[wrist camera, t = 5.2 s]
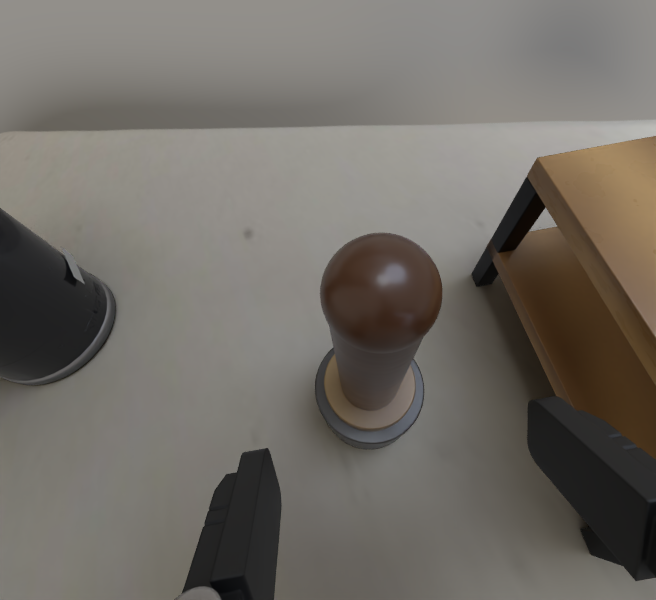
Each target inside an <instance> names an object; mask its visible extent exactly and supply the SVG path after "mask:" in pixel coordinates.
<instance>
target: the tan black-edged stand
mask: <svg viewBox="0 0 656 600" xmlns="http://www.w3.org/2000/svg"><path fill="white" fill-rule="evenodd" d="M545 207H546V208H547V210H548V212H549V213H550V215H551V216H552V218H553V220H554V221H555V223H556V225H557V226H558V227H552V228H547V229H542V230H536V231H531V232H528V231H529V230H530V229H531V227H532V226H533V224H534V223H535V222H536V220H537V219H538V217H539V216H540V214H541V213H542V212H543V210H544V209H545ZM498 274H499V275H500V278H501V280H502V282H503V284H504V286H505V288H506V290H507V292H508V295H509V297H510V299H511V301H512V303H513V305H514V307H515V309H516V312H517V314H518V316H519V318H520V320H521V322H522V324H523V326H524V329H525V331H526V333H527V335H528V337H529V339H530V341H531V343H532V345H533V348H534V350H535V352H536V354H537V356H538V358H539V360H540V362H541V365H542V367H543V369H544V371H545V373H546V375H547V377H548V379H549V382H550V384H551V386H552V388H553V390H554V392H555V394H556V396H558V397H560V398H562V399H563V400H564V401H566V402H567V403H568V404H569V405H571V406H572V407H573V408H574V409H576V410H577V411H579V410H583V411H585V412H587V413H590V414H592V415H594V416H596V417H598V418H601V419H603V420H604V421H606V422H607V423H608V424H610V425H611V426H612V427H614V428H615V429H616V430H618V431H619V432H620V433H621V435H622V436H625V437H627V438H628V439H629V440H631V441H632V442H633V443H635V444H636V446H637V447H638V448H641V449H643V450H644V451H645V452H646V453H648V454H649V455H650V456H652V457H653V458H654V459H656V136H653V137H647V138H642V139H636V140H631V141H626V142H620V143H615V144H609V145H604V146H598V147H593V148H587V149H582V150H576V151H571V152H565V153H560V154H555V155H549V156H544V157H538V158H537V159H536V161H535V162H534V164H533V166H532V168H531V169H530V171H529V173H528V175H527V177H526V179H525V180H524V182H523V184H522V186H521V188H520V189H519V191H518V193H517V195H516V196H515V198H514V200H513V202H512V203H511V205H510V207H509V209H508V210H507V212H506V214H505V216H504V217H503V219H502V221H501V223H500V224H499V226H498V228H497V230H496V231H495V233H494V235H493V237H492V239H491V240H490V242H489V243H488V245H487V247H486V249H485V251H484V253H483V254H482V256H481V258H480V260H479V261H478V263H477V265H476V267H475V268H474V270H473V272H472V277H473V279H474V281H475V284H476V286H482V285H488V284H492V282H493V281H494V280H495V278H496V277H497V275H498ZM581 532H582V535H583V537H584V539H585V542H586V544H587V546H588V549H589V551H590V553H591V555H593V556H596V557H599V558H602V559H604V560H607V561H610V562H613V563H616V564H618V565H621V566H623V565H622V564H621V563H620V562H619V561H618V559H617V558H616V557H615V556H614V555H613V553H612V552H611V551H610V550H609V549H608V548H607V546H606V545H605V544H604V543H603V542H602V541H601V539H600V538H599V537H598V536H597V535H596V533H595V532H594V531H593V530H592V529H591V528H590V527H588V528H582V529H581ZM655 578H656V577H655Z"/></svg>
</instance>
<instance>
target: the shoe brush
mask: <svg viewBox="0 0 656 600" xmlns="http://www.w3.org/2000/svg"><path fill="white" fill-rule="evenodd" d="M320 298H321V306H322V310H323V313H324V315H325V318H326V320H327V322H328V324H329V327H330V332H331V337H332V342H333V348H332V349H331V350H330V351H329V352H328V354H327V355H326V356H325V357H324V359H323V361H322V362H321V364H320V366H319V369H318V372H317V375H316V381H315V394H316V400H317V404H318V406H319V409H320V411H321V413H322V415H323V417H324V419H325V420H326V422H327V423H328V425H329V426H330V428H331V429H332V431H333V432H334V433H335V434H336V435H337V436H338V437H339V438H340V439H341V440H342V441H344V442H345V443H347V444H349V445H351V446H354V447H357V448H361V449H378V448H382V447H385V446H387V445H389V444H391V443H393V442H394V441H396V440H397V439H398V438H399V437H400V436H402V435H403V434H404V433H405V432H406V431H407V430H408V429H409V428H410V427H411V426H412V425H413V424H414V422H415V421H416V419H417V418H418V416H419V413H420V411H421V408H422V405H423V400H424V383H423V378H422V375H421V372H420V369H419V367H418V365H417V363H416V362H415V360H414V359H413V358H414V356H415V353H416V351H417V349H418V347H419V345H420V343H421V341H422V339H423V337H424V336H425V335H426V334H427V333H428V331H429V330H430V329H431V327H432V326H433V324H434V323H435V321H436V319H437V317H438V314H439V311H440V308H441V303H442V283H441V278H440V275H439V272H438V269H437V267H436V265H435V264H434V262H433V260H432V259H431V257H430V256H429V255H428V254H427V252H426V251H425V250H424V249H422V248H421V247H420V246H419V245H417V244H416V243H415V242H413V241H411V240H409V239H407V238H405V237H403V236H399V235H396V234H391V233H372V234H367V235H363V236H361V237H358V238H356V239H354V240H352V241H350V242H348V243H347V244H345V245H344V246H343V247H342V248H340V249H339V250H338V251H337V252H336V254H335V255H334V256H333V257H332V258H331V260H330V261H329V263H328V265H327V267H326V269H325V271H324V274H323V277H322V282H321V287H320Z"/></svg>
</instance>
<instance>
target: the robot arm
mask: <svg viewBox="0 0 656 600" xmlns="http://www.w3.org/2000/svg"><path fill="white" fill-rule="evenodd" d="M61 248H62V247H61ZM62 250H63V252H64V255H63V254H62V253H61V252H59V251H58V250H57V249H55V248H54V247H53V246H51V245H50V244H48V243H47V242H46V241H44V240H43V239H42V238H40V237H39V236H38V235H36V234H35V233H33V232H32V231H31V230H29V229H28V228H27V227H25V226H24V225H23V224H21V223H20V222H19V221H17V220H16V219H14V218H13V217H12V216H10V215H9V214H8V213H6V212H5V211H4V210H2V209H1V208H0V377H2V378H4V379H6V380H9V381H12V382H16V383H20V384H25V385H41V384H46V383H50V382H54V381H57V380H59V379H61V378H64V377H66V376H68V375H69V374H71V373H73V372H74V371H76V370H77V369H79V368H80V367H82V366H83V365H84V364H85V363H86V362H88V361H89V360H90V359H91V358H92V357H93V356H94V355H95V354H96V352H97V351H98V350H99V349H100V348H101V346H102V345H103V343H104V342H105V340H106V338H107V337H108V335H109V333H110V331H111V328H112V325H113V322H114V318H115V300H114V297H113V294H112V292H111V291H110V289H109V288H108V287H107V285H105V284H104V283H103V282H102V281H100V280H99V279H98V278H96V277H95V276H93V275H91V274H89V273H87V272H86V271H85V270H83V269H82V268H81V267H79V266H78V265H77V264H76V262H75V260H74V258H73V256H72V254H70V253H69V252H68V251H66V250H65V249H64V248H62ZM527 442H528V448H529V451H530V453H531V456H532V458H533V459H534V461H535V463H536V464H537V465H538V466H539V467H540V469H541V470H542V471H543V472H544V473H545V475H546V476H547V477H548V478H549V479H550V480H551V482H552V483H553V484H554V485H555V486H556V488H557V489H558V490H559V491H560V492H561V493H562V495H563V496H564V497H565V498H566V499H567V500H568V502H569V503H570V504H571V505H572V506H573V508H574V509H575V510H576V511H577V512H578V513H579V515H580V516H581V517H582V518H583V519H584V521H585V522H586V523H587V524H588V525H589V526H590V528H591V529H592V530H593V531H594V532H595V533H596V535H597V536H598V537H599V538H600V539H601V541H602V542H603V543H604V544H605V545H606V546H607V548H608V549H609V550H610V551H611V552H612V553H613V555H614V556H615V557H616V558H617V559H618V561H619V562H620V563H621V564H622V565H623V566H624V568H625V569H626V570H627V571H628V572H629V574H630V575H631V576H632V577H633V578H634V579H635V581H639V580H644V579H649V578H655V577H656V459H654V458H653V457H652V456H650V455H649V454H648V453H646V452H645V451H644V450H643V449H641V448H638V447H637V446H636V444H635V443H633V442H632V441H631V440H629V439H628V438H627V437H625V436H622V435H621V433H620V432H619V431H618V430H616V429H615V428H614V427H612V426H611V425H610V424H608V423H607V422H606V421H604V420H603V419H601V418H598V417H596V416H594V415H592V414H590V413H587V412H585V411H583V410H579V411H577V410H576V409H574V408H573V407H572V406H571V405H569V404H568V403H567V402H566V401H564V400H563V399H562V398H560V397H558V396H553V397H547V398H542V399H536V400H531V401H530V402H529V403H528V430H527ZM280 520H281V493H280V487H279V483H278V480H277V476H276V472H275V469H274V465H273V462H272V458H271V454H270V451H269V449H268V448H265V449H259V450H254V451H248V452H244V453H242V455H241V459H240V463H239V467H238V471H237V473H231V474H226V476H225V477H224V478H223V480H222V481H221V482H220V484H219V485H218V487H217V488H216V489H215V491H214V494H213V497H212V501H211V504H210V507H209V511H208V513H207V516H206V520H205V526H204V527H203V529H202V532H201V535H200V539H199V542H198V545H197V548H196V551H195V554H194V558H193V561H192V564H191V567H190V570H189V573H188V577H187V580H186V583H185V586H184V589H183V591H182V594H181V595H179V596H178V597H177V598H176V599H174V600H274V591H275V579H276V567H277V555H278V543H279V531H280Z"/></svg>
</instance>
